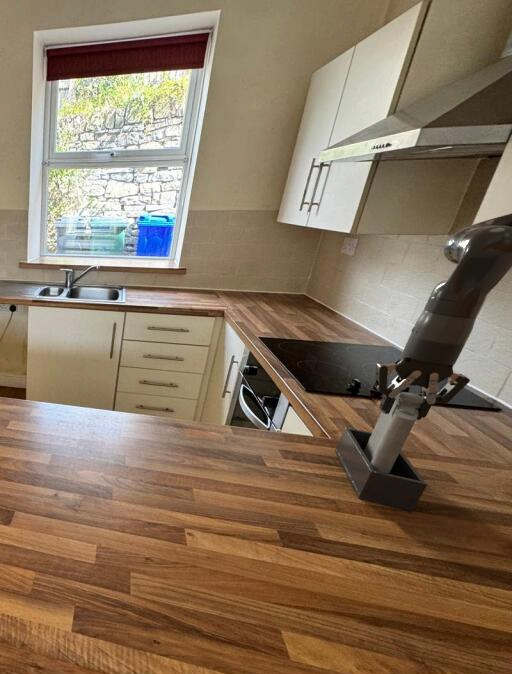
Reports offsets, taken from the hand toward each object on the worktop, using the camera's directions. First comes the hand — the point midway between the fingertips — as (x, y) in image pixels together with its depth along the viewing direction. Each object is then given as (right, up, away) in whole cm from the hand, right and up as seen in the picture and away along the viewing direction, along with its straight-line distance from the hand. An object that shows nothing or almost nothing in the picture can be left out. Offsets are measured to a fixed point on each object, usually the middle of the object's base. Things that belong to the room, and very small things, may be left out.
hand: (400, 414), depth 84 cm
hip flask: (0, -14, +6) cm, 16 cm away
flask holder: (-1, -15, +7) cm, 16 cm away
